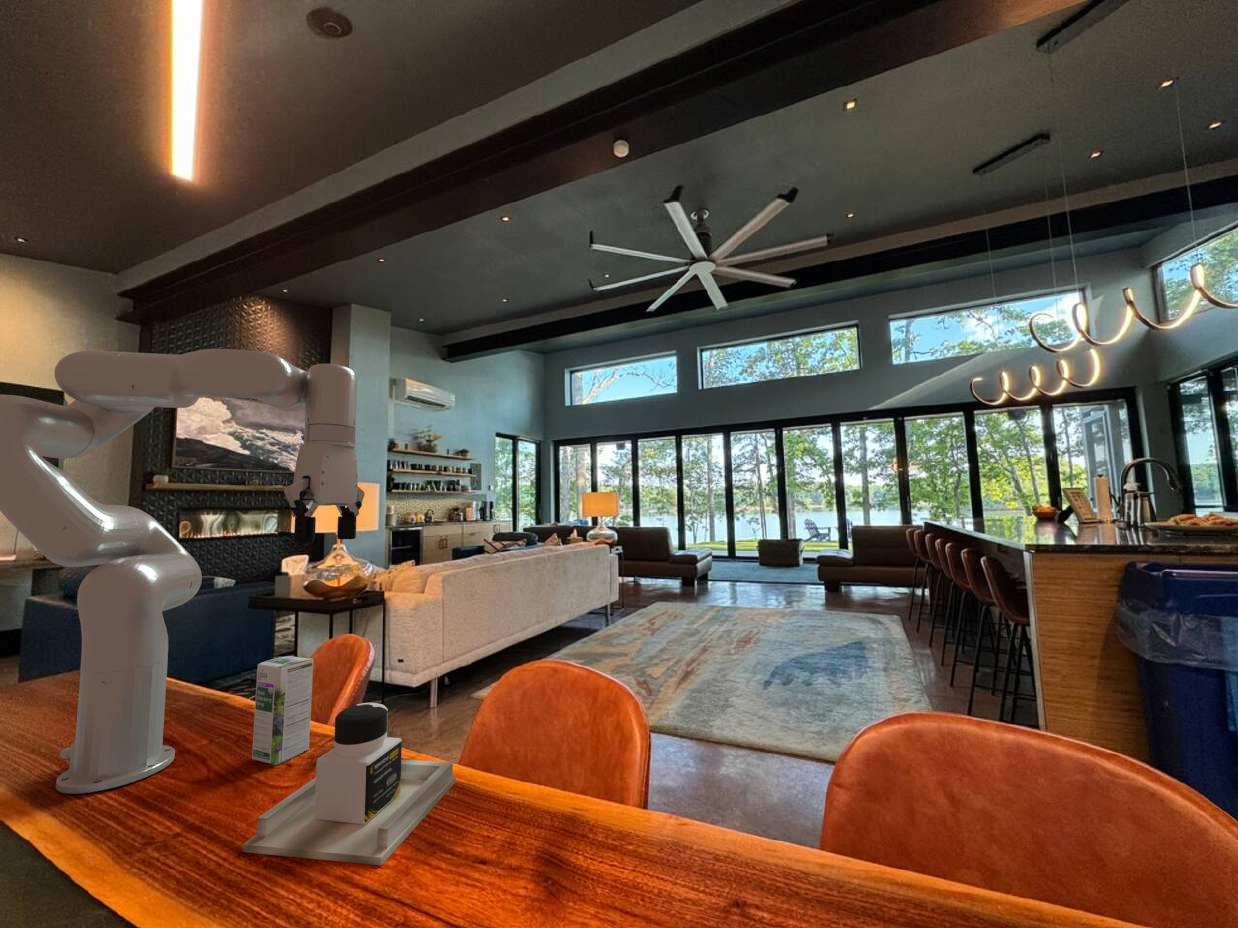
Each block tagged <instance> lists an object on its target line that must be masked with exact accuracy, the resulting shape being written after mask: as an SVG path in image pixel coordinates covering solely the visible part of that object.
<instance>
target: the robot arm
mask: <svg viewBox="0 0 1238 928" xmlns="http://www.w3.org/2000/svg"><path fill="white" fill-rule="evenodd" d="M53 374H54V379H55V382H56V384H57V386H58V387H59V388H60V389H61V391H62V392H63V393H64V394H65V395H68V396H69V397H70V398H72V399H73V400H74V401H72V402H71V403H69V404H68V405H66V406H64V405H61V404H58V403H57V404H56V403H53V402H49V401H44V400H42V399H41V400H40V399H36V398H31V397H26V396H21V395H13V394H0V513H1V514H2V515H3V516H4V518H6V519H7V520H8V521H9V522H10V524H11V525H13V527H15V529H17V531H18V532H19V533H21V534H22V535H23V537H25V538H26V540H27V541H29V543H31V544H32V545H33V546H34V547H35V548H36V550H38V551H39V552H40V553H41V554H42V555H43V556H44V557H45V558H46V559H47V560H48V561H50V562H52V563H54V564H56V565H59V566H61V567H67V568H77V567H79V568H81V567H91V566H97V567H95V568H93V569H92V570H91V571H90V572H89V573H88V574H87V575H86V576H85V577H84V578H83V580H82V581H81V583H80V585H79V586H78V587H79V588H78V590H77V596H76V597H77V598H76V605H77V612H78V618H79V622H80V630H81V657H80V674H79V675H80V677H79V689H78V690H79V691H78V702H77V703H78V704H77V712H76V713H77V714H76V715H77V716H76V729H75V740H74V741H73V743H72V744H71V746H70V747H64V748H63V749H62V750H61V751H60V754H59V757H60V758H61V759H69V768H68V769H66V770H65V771H64V772H62V773H61V774H60V775H59V776H58V777H57V778H56V782H55V783H56V784H55V789H56V790H57V791H58V792H60V793H62V794H67V795H68V794H69V795H74V794H75V795H76V794H91V793H95V792H100V791H101V792H102V791H106V790H110V789H113V788H118V787H121V786H122V787H123V786H125V785H128V784H131V783H135V782H137V781H140V780H143V779H144V778H147V777H149V776H151V775H154V774H156V773H158V772H160V771H161V770H164V769H165V768H166V767H168V766H169V765H170V764H171V763H172V762H173V761H174V759H175V757H176V756H175V754H176V750H175V748H173V747H172V746H169V745H167V744H166V745H164V743H163V741H164V740H163V739H164V724H165V723H164V722H165V712H166V711H165V708H166V696H167V695H166V691H167V678H168V677H167V675H168V661H169V658H168V656H169V655H168V654H169V635H168V629H167V626H166V622H165V619H164V616H163V612H165V611H167V610H171V609H174V608H177V607H180V606H182V605H184V604H186V603H187V602H189V601H190V600H191V599H193V598H194V597H195V596H196V595H197V593H199V590H200V588H201V586H202V580H203V575H202V571H201V568H200V565H199V564H198V562H197V561H196V560H195V558H194V557H193V556H192V555H191V554H190V553H189V552H188V551H187V549H185V547H184V546H183V545H181V544H180V543H179V541H177V539H175V538H174V537H173V535H172V534H170V532H169V531H167V530H166V529H165V528H164V526H163V525H162V524H161V523H159V521H158V520H156V519H155V518H154V517H153V516H152V515H151V514H148V513H147V512H145V511H143V510H142V509H139V508H137V507H133V506H129V505H124V504H123V505H120V504H104V503H101V502H99V501H96V500H95V499H94V498H93V497H91V496H90V495H89V494H88V493H86V492H85V491H84V489H82V488H81V487H80V485H78V484H77V483H76V482H75V480H74V479H73V478H72V477H71V476H69V475H68V474H67V473H66V472H65V471H63V470H62V469H60V468H58V467H57V466H55V465H54V464H52V463H51V462H50V461H47V459H45V458H54V459H64V460H65V459H66V460H67V459H77V458H80V457H83V456H84V457H85V456H87V455H89V454H92V453H93V452H95V451H96V450H99V449H100V448H102V447H103V446H105V445H106V444H107V443H109V442H110V441H112V440H113V439H114V438H116V437H117V436H119V435H120V434H122V433H124V432H125V431H127V430H128V429H129V428H131V427H132V426H134V425H135V424H136V423H138V422H139V421H141V420H142V419H143V418H144V417H146V416H147V415H149V414H150V413H151V412H152V411H153V410H154V409H155V408H170V409H171V408H174V409H186V408H190V407H193V406H194V405H195V404H196V403H197V401H198V400H199V399H201V398H202V399H203V398H219V397H220V398H239V399H240V398H241V399H252V400H253V399H254V400H258V401H260V402H262V403H265V404H267V405H268V406H271V407H273V408H275V409H277V410H281V411H285V412H299V411H305V412H304V413H305V414H304V436H303V437H304V438H303V440H304V441H303V443H301V445H300V447H299V450H298V453H297V457H296V461H295V462H296V463H295V468H294V473H293V474H294V475H293V481H292V482H293V483H292V484H290V485H288V486H286V487H285V488H284V489H283V493H284V496H285V499H286V501H287V507H288V508H289V509H290V511H291V516H292V517H293V518H294V529H293V530H294V532H293V533H294V536H293V542H294V543H296V544H307V543H308V544H311V543H314V542H315V540H316V522H317V521H316V520H317V518H316V516H313V515H314V513H315V512H316V510H317V509H318V507H319V506H323V507H324V506H335V507H336V508H337V510H338V512H339V514H340V516H339V515H338V517H337V533H336V534H337V536H336V537H337V539H338V540H355V539H356V538H357V517H358V516H359V514H360V510H361V508H362V507H363V500H364V498H365V495H366V493H365V492H364V490H363V489H362V488H360V486H358V485H359V483H358V482H359V481H358V478H359V477H358V475H359V474H358V463H357V454H356V449H355V448H356V431H357V430H356V427H357V426H356V425H357V423H356V422H357V421H356V420H357V397H358V395H357V392H358V378H357V374H356V372H355V371H354V370H353V369H352V368H350V367H347V366H344V365H342V364H341V365H340V364H334V363H318V364H313V365H311V366H310V367H309V368H308V369H307V370H304V369H302V368H299V367H296V366H295V365H293V364H292V363H290V362H289V361H287V360H286V359H285V358H282V357H281V356H279V355H277V354H273V353H270V352H266V351H262V350H261V351H259V350H248V349H247V350H246V349H232V348H230V349H229V348H206V349H205V348H204V349H199V350H195V351H190V352H186V353H183V354H171V353H170V354H169V353H149V352H148V353H147V352H133V351H132V352H129V351H115V350H114V351H112V350H111V351H110V350H109V351H108V350H80V351H77V352H72V353H69V354H67V355H66V356H64V357H62V358H61V359H60V360H59V361H58V362H57V364H56V366H55V368H54V373H53ZM44 457H45V458H44Z"/></svg>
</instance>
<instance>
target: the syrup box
mask: <svg viewBox="0 0 1238 928" xmlns="http://www.w3.org/2000/svg"><path fill="white" fill-rule="evenodd" d="M313 669H314V658H306V657H299V656H293V655H286V656H279V657H276V658H272V659H269V660H266V661H262V662H260V663H258V664H257V671H256V684H255V685H256V687H255V689H256V690H255V702H254V704H255V705H254V716H253V717H254V718H253V719H254V720H253V721H254V722H253V735H252V736H253V738H252V751H251V753H252V755H251V759H252V761H259V762H263V763H267V764H270V765H273V766H277V765H280V764H282V763H284V762H287V761H289V760H290V759H292V758H295V757H296V756H299V755H301V754H302V753H304V751H305V752H307V751H308V749H309V750H310V737H311V736H310V735H311V734H310V733H311V714H312V695H313V694H312V693H313V674H314V673H313V672H314V671H313ZM306 750H307V751H306Z"/></svg>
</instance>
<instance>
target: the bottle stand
mask: <svg viewBox="0 0 1238 928" xmlns="http://www.w3.org/2000/svg"><path fill="white" fill-rule="evenodd" d="M441 762H443V763H441ZM453 765H454V763H453V762H448V761H436V760H435V761H433V760H418V759H416V760H415V759H402V758H401V792H400V794H399V795H398V796H397V797H396V798H395V799H394V800H392V801H391V802H390V803H389V804H388V805H387V806H386V807H385V808H383V809H382V810H381V811H380V812H379V813H378V814H377V815H376V816H375V817H373V818H372V819H371V820H370V821H369V822H368V823H367V824H365V825H361V824H352V823H343V822H334V821H325V820H316V819H315V817H314V816H315V789H316V776H315V777H314V778H313V779H311V780H310V781H308V782H307V783H306V784H304V785H302V786H301V787H299V788H298V789H297V790H296V791H294V792H292V793H290V794H289V795H288V796H287V797H285V798H284V799H282V800H281V801H279V802H278V803H277V804H275V805H273V807H271V808H269V809H268V810H267V811H265V812H264V813H262V814H261V815H259V816H258V817H256V818H257V822H256V834H255V835H254V836H252V837H251V838H250V839H248V840H247V841H246V842H244V843H243V844H242V853H248V854H249V853H250V854H261V855H269V856H279V857H280V856H282V857H291V858H300V859H312V860H323V861H333V862H342V863H352V864H362V865H363V864H364V865H374V866H382V865H383V864H384V863H385V862H386V861H387V860H388V859H389V858H390V856H392V854H394V852H395V851H396V850H397V849H398V847H400V845H401V844H402V843H403V842H404V841H405V840H406V839H407V838H408V837H409V835H410V834H411V833H412V832H413V831H414V830H415V829H416V828H417V826H419V824H420V823H421V822H422V821H423V820H424V819H425V817H426V816H428V814H429V813H430V812H431V811H432V810H433V809H434V807H436V805H437V804H438V803H439V802H440V800H441V799H443V798H444V796H445V795H446V794H447V793H448V792H449V791H450V789H452V787H453V786H454V785H455V784H456V780H457V779H456V776H453V774H454V773H453V768H454V767H453Z"/></svg>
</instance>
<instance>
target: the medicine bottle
mask: <svg viewBox="0 0 1238 928" xmlns="http://www.w3.org/2000/svg"><path fill="white" fill-rule="evenodd" d="M388 711H389V710H388V708H387V707H386V706H385V705H384V704H383V703H382V704H381V703H378V702H377V703H376V702H362V703H358V704H354V705H351V706H348V707H346V708H345V709H342V710H341V711H339V712H338V713H337V714H336V716H335V718H334V736H333V737H334V741H333V746H334V748H332V749H331V750H329V751H328V752H326V753H324V754H322V755H321V756H320V757H318V758H317V759H316V767H315V777H316V789H315V816H314V817H315V819H316V820H325V821H334V822H343V823H352V824H361V825H365V824H367V823H368V822H369V821H370V820H371V819H372V818H373V817H375V816H376V815H377V814H378V813H379V812H380V811H381V810H382V809H383V808H385V807H386V806H387V805H388V804H389V803H390V802H391V801H392V800H394V799H395V798H396V797H397V796H398V795H399V794H400V792H401V759H402V751H403V750H402V747H403V746H402V745H403V742H402V741H403V740H402V738H401V737H390V736H389V737H388Z"/></svg>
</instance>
